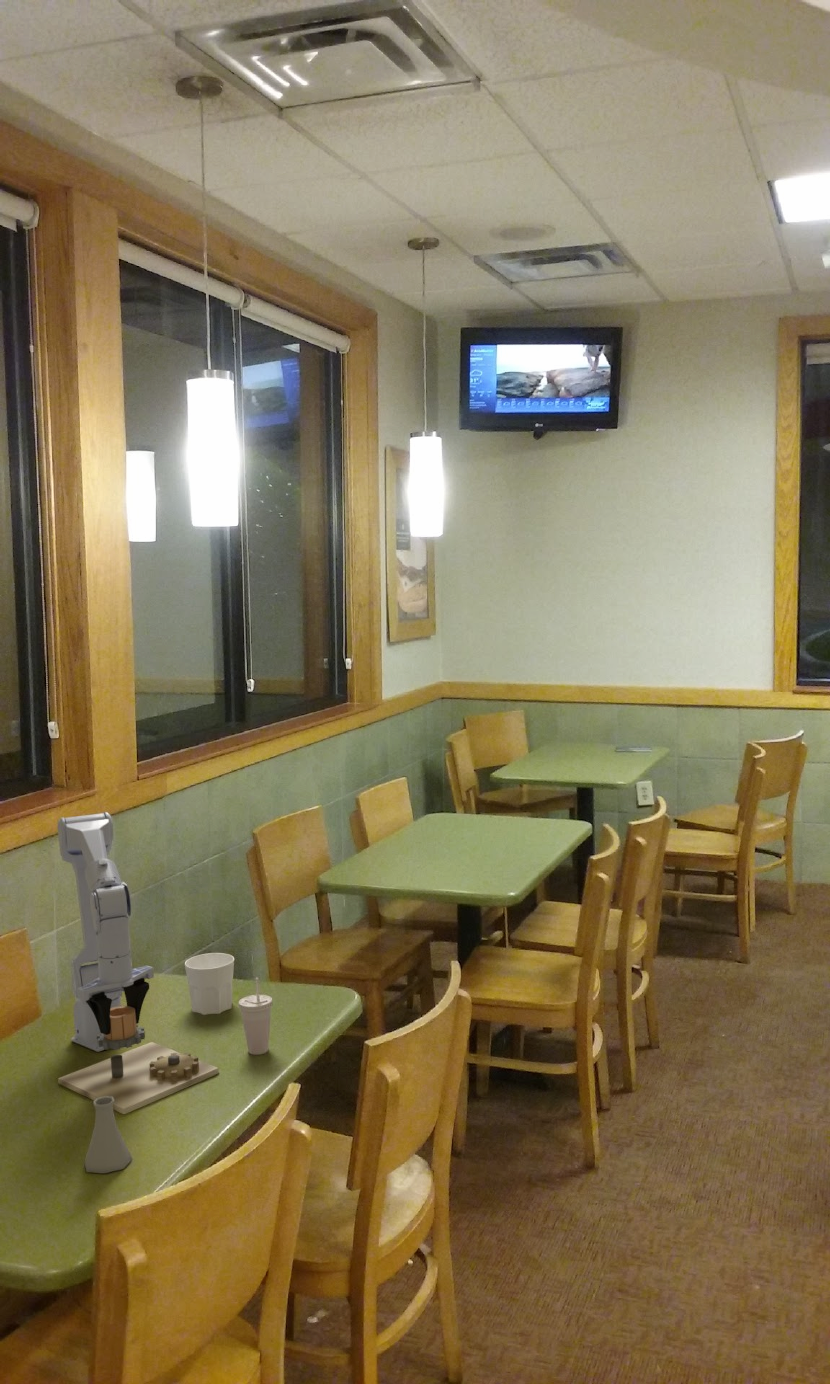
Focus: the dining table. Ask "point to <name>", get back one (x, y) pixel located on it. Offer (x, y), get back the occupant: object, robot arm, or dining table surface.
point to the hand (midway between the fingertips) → (119, 1028)
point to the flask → (106, 1141)
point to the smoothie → (256, 1020)
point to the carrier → (139, 1076)
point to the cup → (210, 982)
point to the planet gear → (121, 1029)
